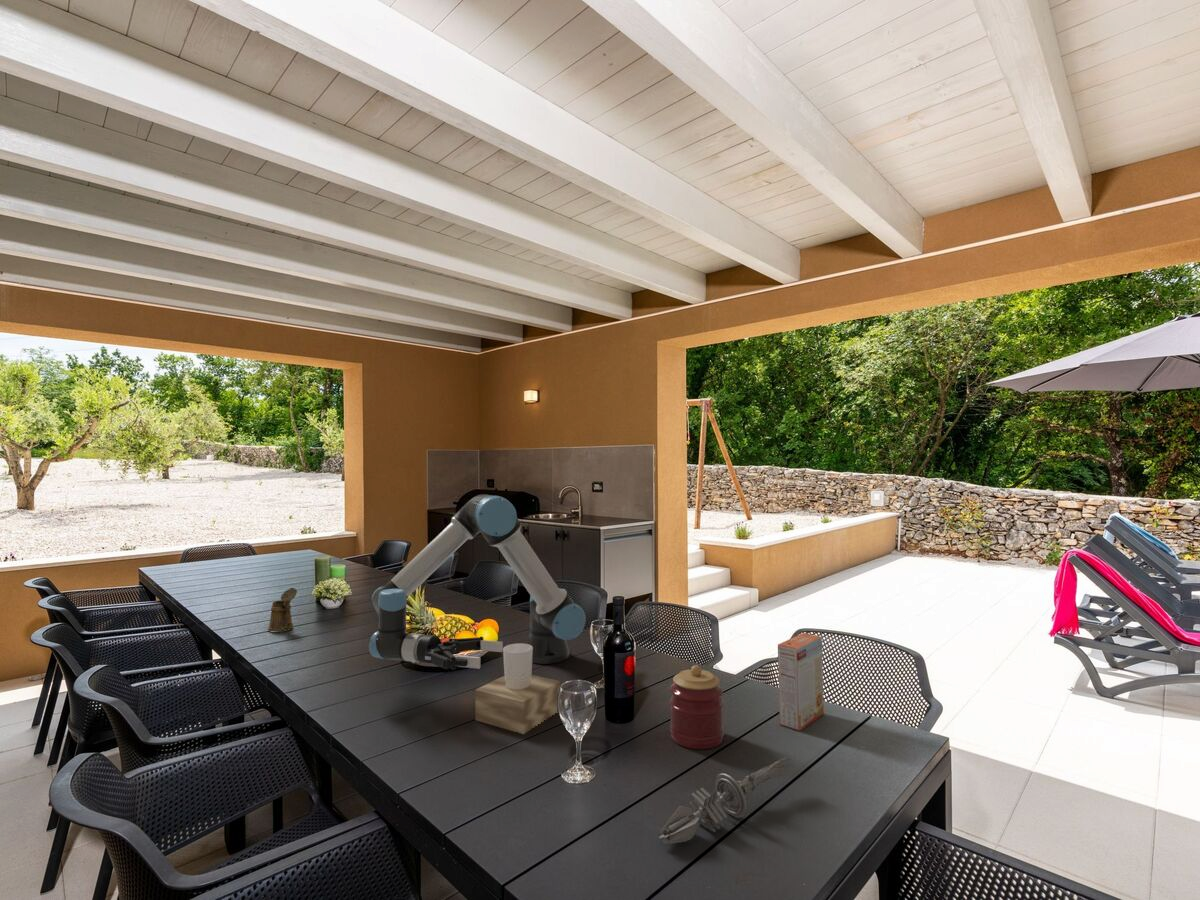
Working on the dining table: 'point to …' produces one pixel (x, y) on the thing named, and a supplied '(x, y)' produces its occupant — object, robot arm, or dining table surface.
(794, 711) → the cracker box
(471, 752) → the dining table surface
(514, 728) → the riser block
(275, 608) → the wooden mug
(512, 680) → the white cup
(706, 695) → the canister
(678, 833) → the spaceship
